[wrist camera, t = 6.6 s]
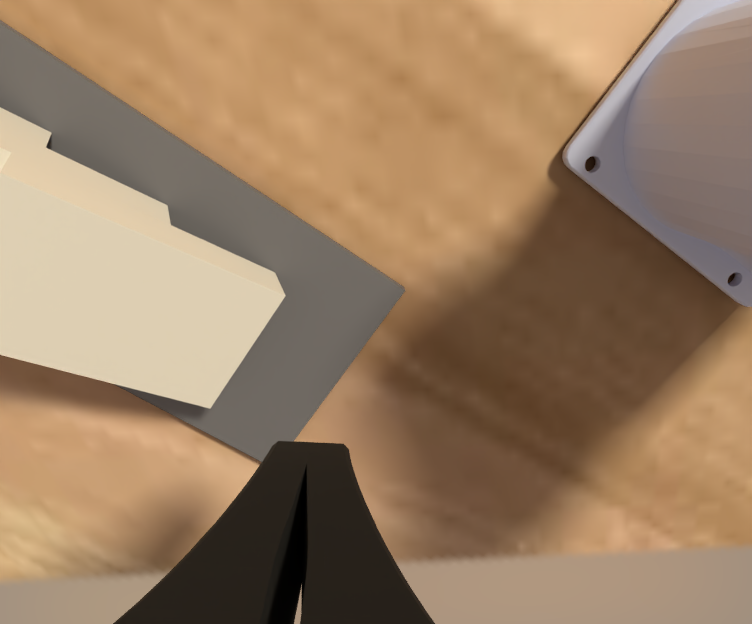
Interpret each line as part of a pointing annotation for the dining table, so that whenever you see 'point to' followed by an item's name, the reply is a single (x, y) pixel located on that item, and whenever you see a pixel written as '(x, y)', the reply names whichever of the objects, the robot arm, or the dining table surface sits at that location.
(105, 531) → the dining table surface
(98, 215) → the domino
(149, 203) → the domino
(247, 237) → the runner mat
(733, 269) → the robot arm
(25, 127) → the domino
